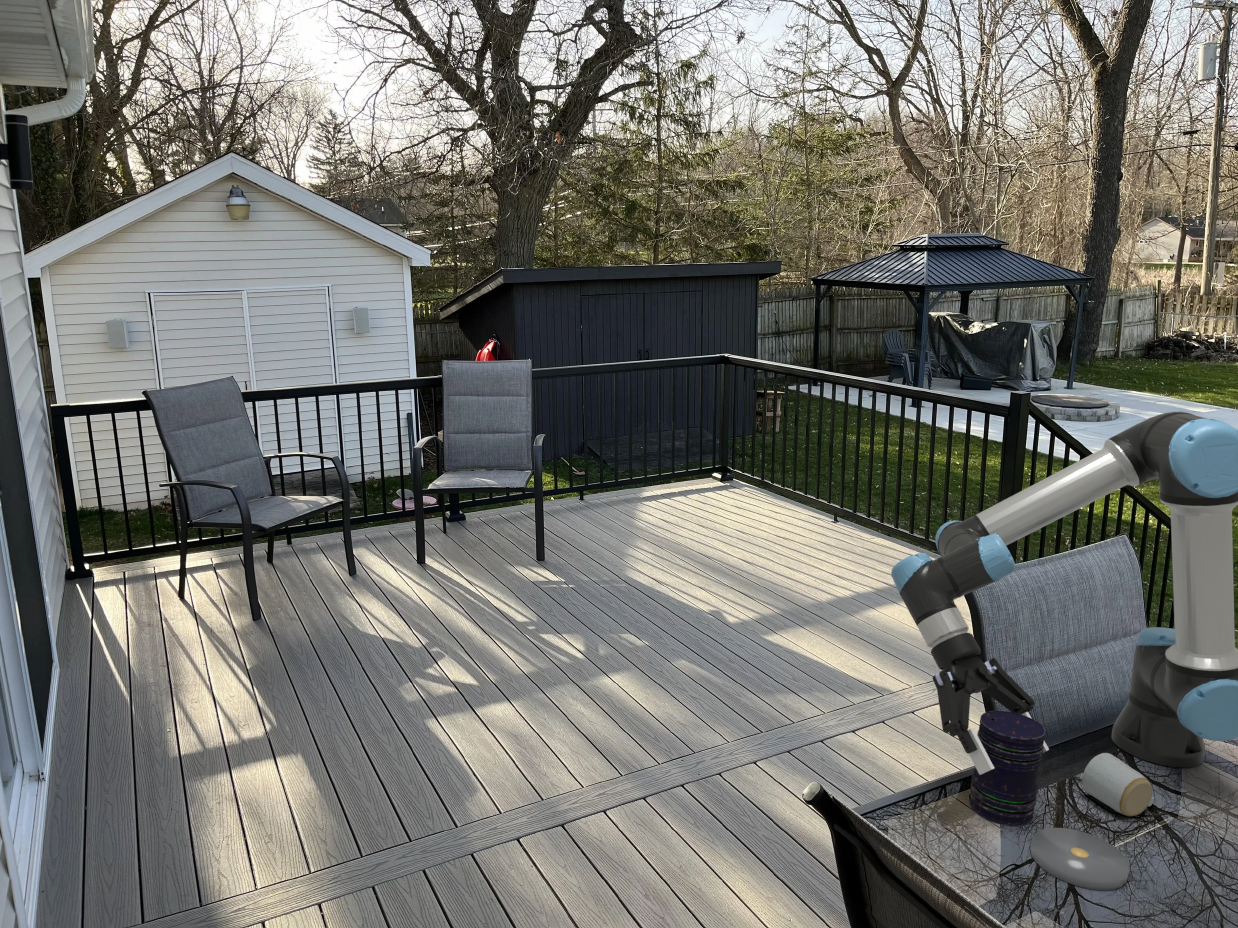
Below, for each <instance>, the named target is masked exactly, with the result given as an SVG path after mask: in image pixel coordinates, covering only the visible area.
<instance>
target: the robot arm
mask: <svg viewBox="0 0 1238 928" xmlns="http://www.w3.org/2000/svg"><path fill="white" fill-rule="evenodd" d="M1156 479H1157V480H1158V481H1159V482H1158V483H1159V484H1158V487H1159V501H1160V502H1161V504H1163V505H1165V506H1166V507H1167V508H1168V509H1169V510H1170V527H1171V528H1170V531H1171V556H1172V557H1171V558H1172V559H1171V560H1172V582H1173V583H1172V585H1173V587H1172V588H1173V590H1172V591H1173V614H1174V617H1173V619H1174V628H1169V627H1157V626H1156V627H1155V626H1154V627H1151V626H1150V627H1146V628H1143V629H1141V631H1139V634H1138V636H1137V640H1136V643H1135V645H1134V646H1135V651H1134V659H1133V664H1132V665H1133V666H1132V671H1131V679H1130V685H1129V689H1128V690H1129V691H1128V698H1127V701H1126V702H1125V703H1126V704H1125V705H1124V707H1123V709H1122V710H1121V711H1120V712H1119V715H1118V717H1117V718H1116V720H1115V721H1114V723H1113V725H1112V730H1111V740H1112V742H1113V743H1114V744H1115V745H1116V746H1117V747H1118V748H1120V749H1121V750H1122V751H1124V752H1125V753H1128V754H1129V755H1130V756H1131V755H1132V756H1133V757H1136V758H1139V759H1140V760H1143V761H1146V762H1150V763H1154V764H1157V765H1161V766H1166V767H1173V768H1192V767H1193V768H1195V767H1197V766H1200V765H1201V764H1202V763H1203V762H1204V757H1205V753H1206V752H1205V751H1206V746H1205V741H1204V740H1208V741H1212V742H1225V741H1230V740H1234V739H1236V738H1238V648H1237V647H1236V638H1235V598H1234V594H1235V593H1234V591H1235V589H1234V588H1235V587H1234V555H1233V554H1234V551H1233V547H1234V546H1233V510H1234V509H1235V508H1236V507H1237V506H1238V428H1236V427H1234V426H1232V425H1230V424H1229V423H1227V422H1225V421H1223V420H1219V419H1214V418H1207V417H1204V416H1200V415H1195V414H1193V413H1189V412H1185V411H1169V412H1168V411H1167V412H1164V413H1160V414H1157V415H1154V416H1151V417H1149V418H1148V419H1147V418H1146V419H1145V420H1142V421H1141V422H1138V423H1136V424H1135V425H1132V426H1131V427H1128V428H1127V429H1125V430H1123V431H1121V432H1119V433H1117V434H1115V435H1113V436H1111V437H1110V438H1107V439H1105V441H1104V445H1103V447H1102V448H1101V449H1099V450H1098V451H1094V452H1093V453H1092V454H1090V455H1088V456H1086V457H1084V458H1082V459H1080V460H1078V461H1076V462H1074V463H1072V464H1071V465H1069V466H1067V467H1064V468H1063V469H1061V470H1059V471H1057V472H1055V473H1054V474H1052V475H1049V476H1048V477H1045V478H1044V479H1042V480H1040V481H1037V482H1036V483H1034V484H1033V485H1030V486H1028V487H1027V488H1024V489H1023V490H1020V491H1019V492H1017V493H1015V494H1013V495H1011V496H1009V497H1008V498H1005V499H1003V500H1001V501H1000V502H998V503H996V504H994V505H992V506H991V507H988V508H987V509H985V510H983V511H980V512H978V513H976V514H975V515H973V516H970V517H968V518H967V519H964V520H950V521H947V522H945V523H943V524H942V525H941V526H940V527H939V528H938V529H937V532H936V534H935V545H936V548H937V552H938V554H939V555H940V557H938V558H936V559H933V558H932V557H930V556H929V554H928V553H925V552H919V553H915V554H913V555H909V556H907V557H905V558H903V559H901V560H899V561H898V562H897V563H896V564H895V565H894V566H893V567H892V569H891V573H890V575H891V578H892V580H893V582H894V584H895V587H896V589H897V591H898V594H899V595H900V597H901V600H902V601H903V602H904V604H905V606H906V609H907V610H908V613H909V614H910V615H911V618H912V619H913V622H914V623H915V625H916V627H917V629H918V630H919V632H920V634H921V636H922V639H923V640H924V641H925V642H924V643H926V646H927V647H928V648H931V649H930V655H931V656H932V658H933V660H934V662H935V663H936V665H937V667H938V669H939V670H941V671H939V672H938V673H936V674H933V675H932V681H933V683H934V686H935V687H936V692H937V693H936V694H937V698H938V706H939V713H940V719H941V726H942V731H943V732H944V733H945V734H949V735H950V736H951V737H953V738H954V737H956V736H957V738H958V740H959V742H960V744H961V745H962V747H963V749H964V752H965V753H967V754H968V755H969V757H970V759H971V761H972V763H973V765H974V767H976V769H977V771H978V773H979V775H981V774H984V773H986V772H988V771H990V770H992V769H994V766H993V764H992V762H991V760H990V758H989V757H988V755H987V753H986V751H985V749H984V747H983V745H982V743H981V741H980V739H979V738H978V736H977V734H978V733H977V732H976V730H975V728H974V727H972V728H970V729H969V725H970V724H969V722H970V710H971V709H970V707H971V706H970V705H971V695H973V694H978V693H982V694H985V695H986V694H987V695H988V696H989V697H991V698H992V699H994V700H995V701H996V702H997V703H999V704H1000V705H1002V706H1003V707H1004V708H1006V709H1007V711H1009V712H1013V713H1017V714H1021V715H1024V716H1027V717H1029V718H1032V719H1034V717H1033V715H1032V713H1031V711H1032V710H1034V706H1035V704H1036V702H1035V699H1033V698H1032V697H1031V696H1030V694H1028V693H1027V691H1025V690H1024V689H1023V688H1022V687H1021V686H1020V685H1019V684H1018V683H1017V682H1016V681H1015V680H1014V679H1013V678H1012V676H1010V675H1009V674H1008V673H1007V672H1006V671H1005V670H1004V669H1003V668H1002V666H1001V665H1000V663H999V661H998V660H997V658H995V657H991V658H990V659H989V660H986V661H985V662H983V661H982V659H981V657H980V655H981V648H980V646H979V643H978V642H977V641H976V639H975V637H974V635H973V634H972V633H970V632H969V629H970V628H969V625H968V624H967V622H966V620H965V619H964V616H963V615H962V613H961V611H960V610H959V607H958V606H957V605H956V603H955V600H956V599H959V598H961V597H963V596H965V595H968V594H971V593H972V592H975V591H976V590H977V591H978V590H980V589H982V588H984V587H986V586H988V585H990V584H993V583H995V582H999V581H1001V580H1003V579H1004V578H1005V577H1008V576H1009V575H1011V574H1013V573H1014V572H1015V570H1016V563H1015V560H1014V558H1013V556H1012V554H1011V552H1010V550H1009V549H1008V545H1010V544H1012V543H1014V542H1016V541H1018V540H1020V539H1022V538H1024V537H1026V536H1028V535H1031V534H1032V533H1034V532H1036V531H1038V530H1040V529H1042V528H1043V527H1046V526H1047V525H1050V524H1052V523H1054V522H1055V521H1058V520H1060V519H1062V518H1065V516H1067V515H1070V514H1071V513H1073V512H1075V511H1078V510H1080V509H1082V508H1084V507H1085V506H1088V505H1090V504H1092V503H1094V502H1095V501H1097V500H1099V499H1102V498H1104V497H1105V496H1107V495H1110V494H1111V493H1113V492H1115V491H1117V490H1120V489H1121V488H1124V487H1126V486H1131V487H1135V488H1136V487H1138V486H1140V485H1142V484H1144V483H1146V482H1149V481H1151V480H1156ZM1043 745H1044V750H1043V753H1045V752H1048V751H1049V750H1050V749H1049V746H1048V745H1047V743H1046V742H1045V740H1044V744H1043Z"/></svg>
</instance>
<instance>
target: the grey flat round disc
mask: <svg viewBox="0 0 1238 928" xmlns="http://www.w3.org/2000/svg"><path fill="white" fill-rule="evenodd" d="M1031 838H1032V839H1031V842H1030V855H1031V857H1032V859H1033V860H1034V861H1035V863H1036V864H1037V865H1038V867H1040V868H1041V869H1043V870H1044V871H1045V872H1046V873H1048V874H1049V875H1051V876H1053V877H1055V878H1057V879H1059V880H1061V881H1063V882H1065V883H1067V884H1070V885H1073V886H1077V887H1079V888H1083V889H1089V890H1095V891H1110V890H1111V891H1112V890H1117V889H1119V888H1121V887H1123V886H1124V885H1126V883H1127V881H1128V878H1129V871H1130V864H1129V861H1128V859H1127V858H1126V856H1125V855H1124V854H1123V853H1122V852H1121V851H1120V850H1119V849H1118V848H1116V847H1115V846H1114V845H1112V844H1110V843H1109V842H1107V841H1105V840H1104V839H1102V838H1099V837H1097V836H1096V835H1093V834H1090V833H1087V832H1084V831H1081V830H1078V829H1077V830H1076V829H1072V828H1065V827H1048V828H1043V829H1040V830H1038V831H1036V832H1035V833H1034V834H1033V835H1032V837H1031Z"/></svg>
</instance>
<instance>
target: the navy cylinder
mask: <svg viewBox="0 0 1238 928" xmlns="http://www.w3.org/2000/svg"><path fill="white" fill-rule="evenodd" d="M976 734H977V736H978V738H979V739H980V741H981V743H982V745H983V747H984V749H985V751H986V753H987V755H988V757H989V758H990V760H991V762H992V764H993V766H994V769H992V770H990V771H988V772H986V773H984V774H981V775H979V773H978V771H977V769H976V767H975V766H974V767H975V768H974V769H973V770H972V774H971V780H970V781H971V782H970V798H969V802H970V803H969V807H970V806H971V807H970V808H971V810H972V811H973V810H974V811H973V812H974V813H975V814H976V815H978V816H979V817H981V818H983V819H984V820H986V821H988V822H991V823H994V824H996V825H997V824H998V825H1001V826H1005V827H1016V828H1017V827H1023V826H1028V825H1030V824H1031V823H1032V822H1033V819H1034V810H1035V806H1036V805H1037V799H1038V798H1037V796H1038V793H1039V790H1038V788H1039V787H1038V784H1037V781H1038V780H1037V779H1038V774H1039V769H1040V768H1039V767H1041V765H1042V762H1043V754H1044V752H1043V750H1044V745H1043V744H1044V741H1045V736H1046V729H1045V727H1044V725H1042V724H1041V723H1040V722H1039V721H1037V720H1035V719H1034V718H1033V719H1032V718H1029V717H1027V716H1024V715H1021V714H1017V713H1013V712H1011V711H1008V710H991V711H989V710H988V711H986V712H983V713H982V714H981V715H980V717H979V727H978V730H977V733H976Z"/></svg>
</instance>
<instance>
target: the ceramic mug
mask: <svg viewBox="0 0 1238 928" xmlns="http://www.w3.org/2000/svg"><path fill="white" fill-rule="evenodd" d="M1081 784H1082V787H1083V790H1084V791H1085V792H1086V793H1087V794H1089V795H1090V796H1091V797H1093V798H1095V799H1096V800H1098V801H1099V802H1101V803H1102V804H1104V805H1106V806H1108V807H1110V809H1113V810H1114V811H1115V812H1117V813H1119V814H1122V815H1124V816H1125V817H1133V816H1139V815H1140V814H1142V812H1144V811H1145V810H1146V809H1147V808H1148V807H1151V806H1152V805H1153V804H1154V800H1155V797H1154V796H1153V787H1152V784H1151V782H1150V781H1149V779H1147V777H1145V776H1144V775H1143V774H1141V773H1140V772H1139V771H1138V770H1136V769H1134V768H1132V767H1131V766H1129V765H1128V764H1127V763H1125V762H1124V761H1122V760H1120V759H1119V758H1118V757H1116V756H1115V755H1113V754H1111V753H1108V752H1102V753H1100V754H1097V755H1096V756H1094V757H1093V758H1092V759H1091V760H1089V762H1088V763H1087V765H1086V766H1085V768H1084V770H1083V774H1082V779H1081Z"/></svg>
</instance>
